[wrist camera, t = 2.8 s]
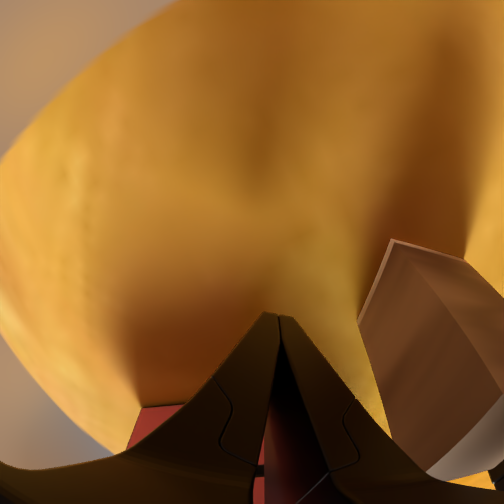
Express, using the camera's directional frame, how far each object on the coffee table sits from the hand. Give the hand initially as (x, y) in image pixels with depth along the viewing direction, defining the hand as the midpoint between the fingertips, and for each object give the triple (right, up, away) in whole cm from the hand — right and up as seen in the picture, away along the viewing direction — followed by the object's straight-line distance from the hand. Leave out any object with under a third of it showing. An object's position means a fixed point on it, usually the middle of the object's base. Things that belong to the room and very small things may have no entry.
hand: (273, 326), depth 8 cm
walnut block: (+6, 0, +4) cm, 7 cm away
